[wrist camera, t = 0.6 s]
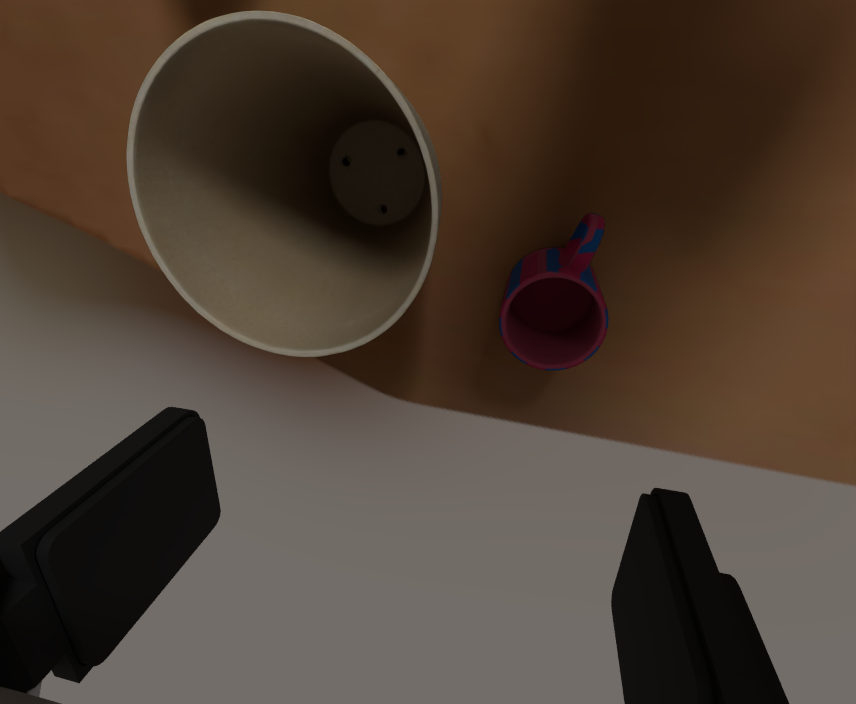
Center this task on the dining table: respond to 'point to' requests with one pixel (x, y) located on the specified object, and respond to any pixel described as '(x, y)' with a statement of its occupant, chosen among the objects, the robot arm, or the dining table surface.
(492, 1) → the dining table surface
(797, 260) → the dining table surface
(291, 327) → the plant pot
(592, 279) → the mug
